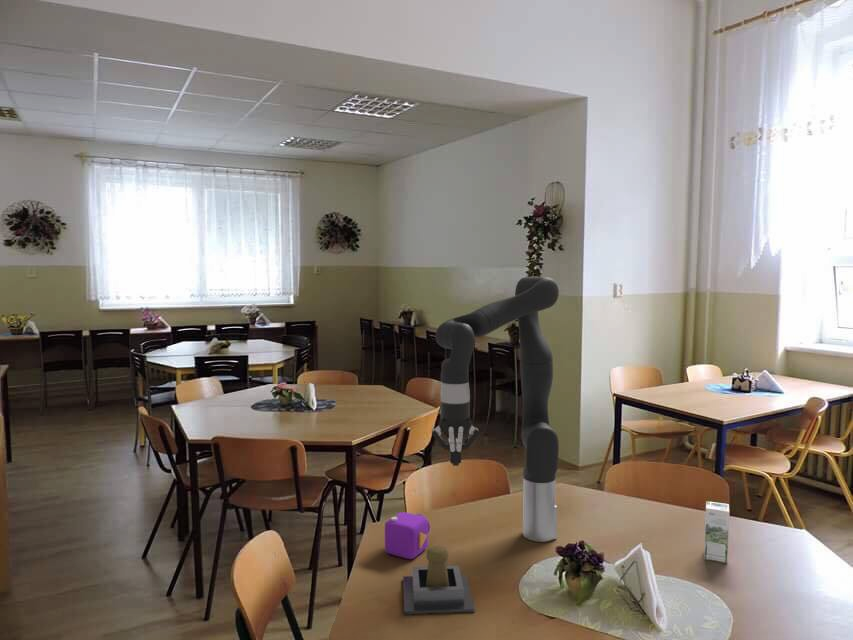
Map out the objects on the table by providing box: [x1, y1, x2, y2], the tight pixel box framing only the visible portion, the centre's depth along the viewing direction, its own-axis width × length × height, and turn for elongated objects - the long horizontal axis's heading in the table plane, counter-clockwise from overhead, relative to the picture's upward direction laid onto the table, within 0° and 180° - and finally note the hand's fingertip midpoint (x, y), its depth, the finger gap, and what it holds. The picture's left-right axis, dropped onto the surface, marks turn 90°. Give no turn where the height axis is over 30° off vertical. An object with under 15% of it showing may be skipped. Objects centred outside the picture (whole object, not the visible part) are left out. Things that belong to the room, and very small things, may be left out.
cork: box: [426, 544, 449, 587], centre depth 150 cm, size 6×6×11 cm
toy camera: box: [384, 511, 431, 560], centre depth 174 cm, size 11×14×10 cm
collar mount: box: [402, 565, 476, 616], centre depth 150 cm, size 16×16×4 cm
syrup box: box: [703, 500, 730, 564], centre depth 168 cm, size 6×6×14 cm
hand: (455, 464), depth 163 cm, fingers closed
